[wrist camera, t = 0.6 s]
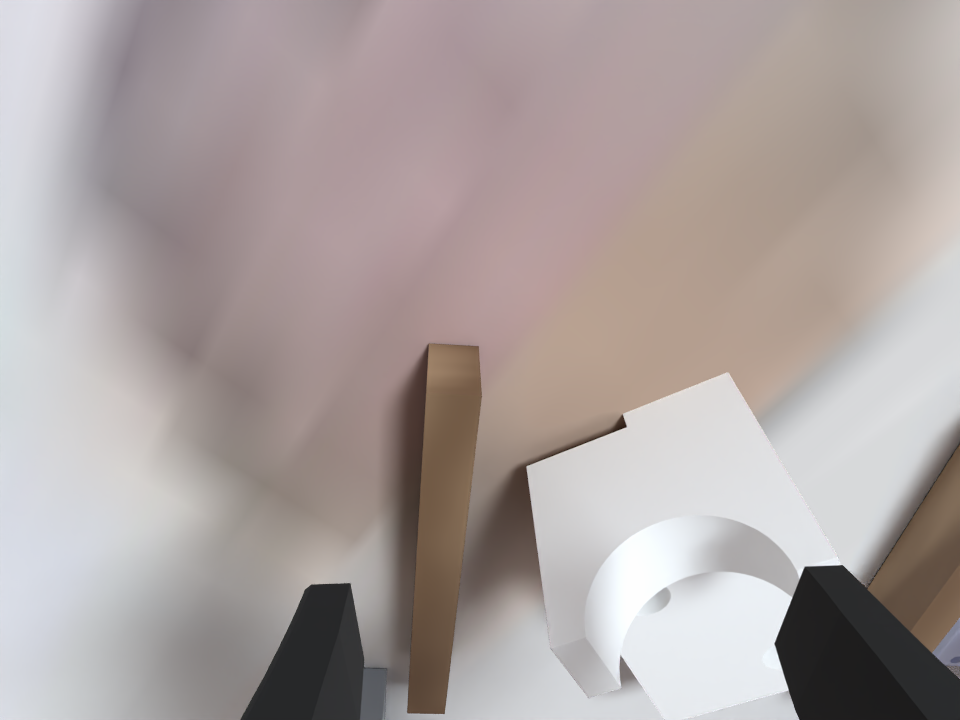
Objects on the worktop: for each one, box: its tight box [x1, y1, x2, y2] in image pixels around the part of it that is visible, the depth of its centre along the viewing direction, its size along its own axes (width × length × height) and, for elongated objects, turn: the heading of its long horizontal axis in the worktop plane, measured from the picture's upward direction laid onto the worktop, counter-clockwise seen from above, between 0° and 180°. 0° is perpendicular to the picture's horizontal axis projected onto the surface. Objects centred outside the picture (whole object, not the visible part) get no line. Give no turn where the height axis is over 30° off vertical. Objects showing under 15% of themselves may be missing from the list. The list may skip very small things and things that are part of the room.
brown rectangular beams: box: [407, 344, 960, 714], centre depth 24 cm, size 20×16×2 cm
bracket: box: [526, 372, 841, 720], centre depth 22 cm, size 13×7×8 cm, turn 27°
